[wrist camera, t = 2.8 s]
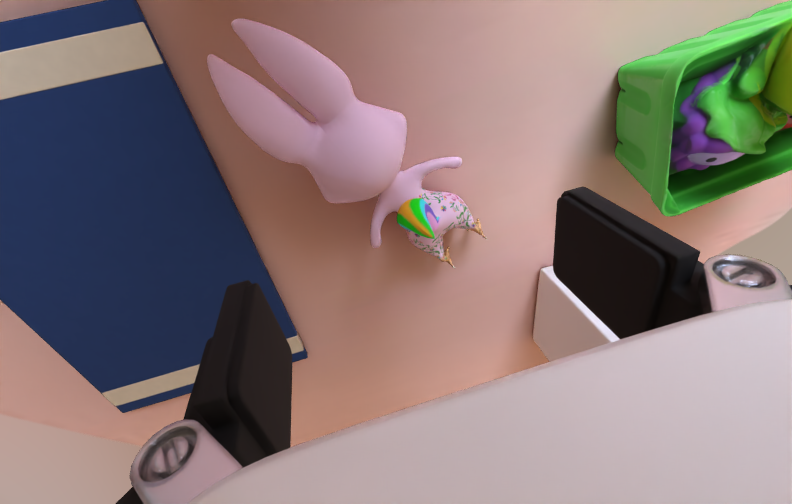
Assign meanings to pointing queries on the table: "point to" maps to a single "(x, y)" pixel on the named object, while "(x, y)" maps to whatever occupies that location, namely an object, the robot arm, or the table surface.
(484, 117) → the table surface
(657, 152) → the fruit basket
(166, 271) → the cloth
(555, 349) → the milk carton
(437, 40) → the table surface
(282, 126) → the rabbit figure
